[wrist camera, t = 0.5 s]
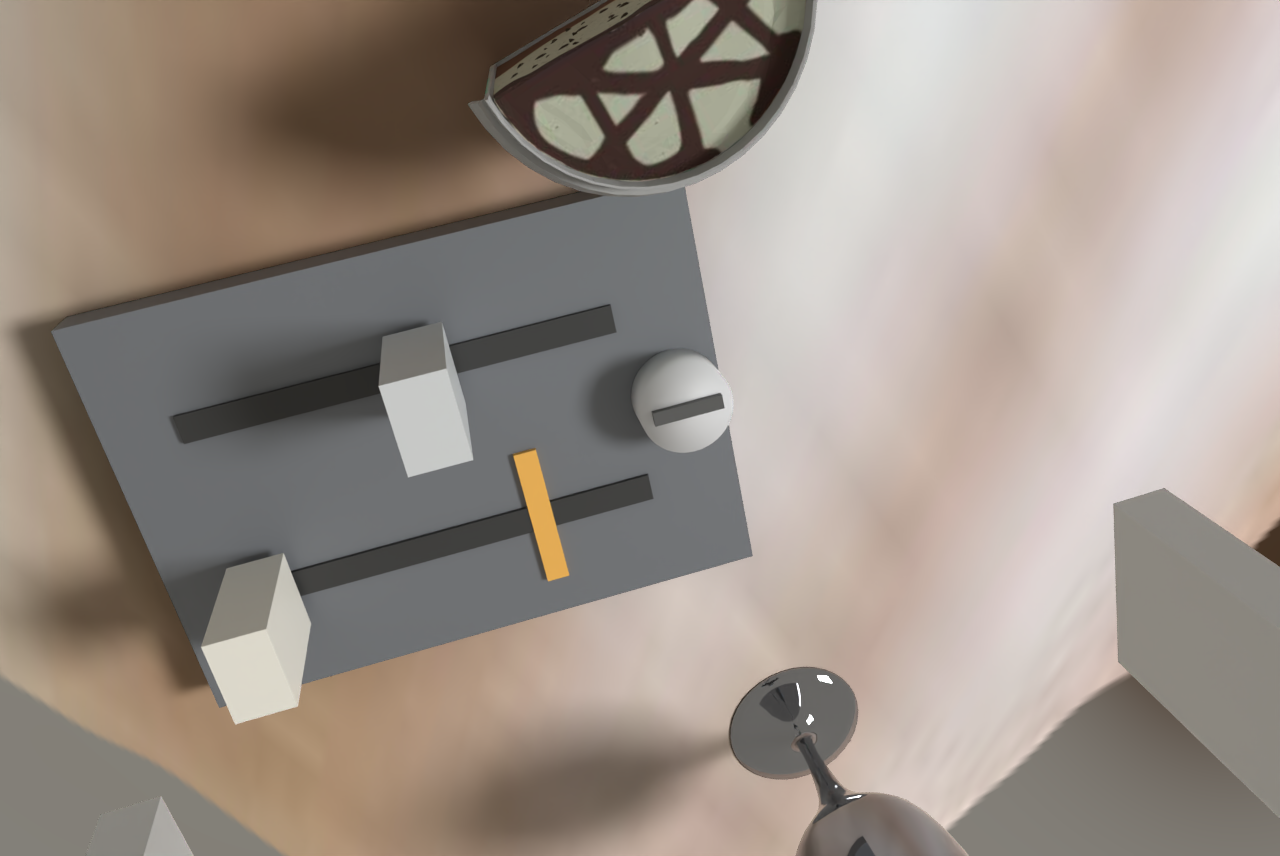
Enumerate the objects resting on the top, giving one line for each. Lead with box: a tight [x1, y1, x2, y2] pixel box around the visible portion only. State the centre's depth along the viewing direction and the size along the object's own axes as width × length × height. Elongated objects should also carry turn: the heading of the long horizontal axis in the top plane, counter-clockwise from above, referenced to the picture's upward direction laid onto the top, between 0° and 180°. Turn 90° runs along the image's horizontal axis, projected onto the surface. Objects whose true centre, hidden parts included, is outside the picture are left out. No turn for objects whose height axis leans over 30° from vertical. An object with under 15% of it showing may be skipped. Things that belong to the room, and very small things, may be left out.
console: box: [51, 187, 753, 708], centre depth 45 cm, size 18×25×4 cm
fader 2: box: [379, 322, 473, 477], centre depth 41 cm, size 4×2×6 cm, turn 12°
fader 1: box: [201, 553, 311, 724], centre depth 43 cm, size 4×2×6 cm, turn 12°
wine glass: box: [730, 667, 969, 856], centre depth 50 cm, size 8×8×15 cm
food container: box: [468, 0, 817, 197], centre depth 39 cm, size 12×6×10 cm, turn 119°
